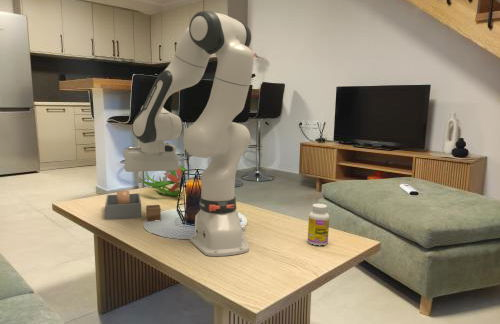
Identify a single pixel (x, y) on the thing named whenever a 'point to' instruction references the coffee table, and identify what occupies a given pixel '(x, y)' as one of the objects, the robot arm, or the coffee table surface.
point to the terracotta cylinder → (123, 197)
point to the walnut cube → (153, 212)
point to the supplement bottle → (318, 225)
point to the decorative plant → (163, 184)
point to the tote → (123, 207)
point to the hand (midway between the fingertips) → (152, 182)
